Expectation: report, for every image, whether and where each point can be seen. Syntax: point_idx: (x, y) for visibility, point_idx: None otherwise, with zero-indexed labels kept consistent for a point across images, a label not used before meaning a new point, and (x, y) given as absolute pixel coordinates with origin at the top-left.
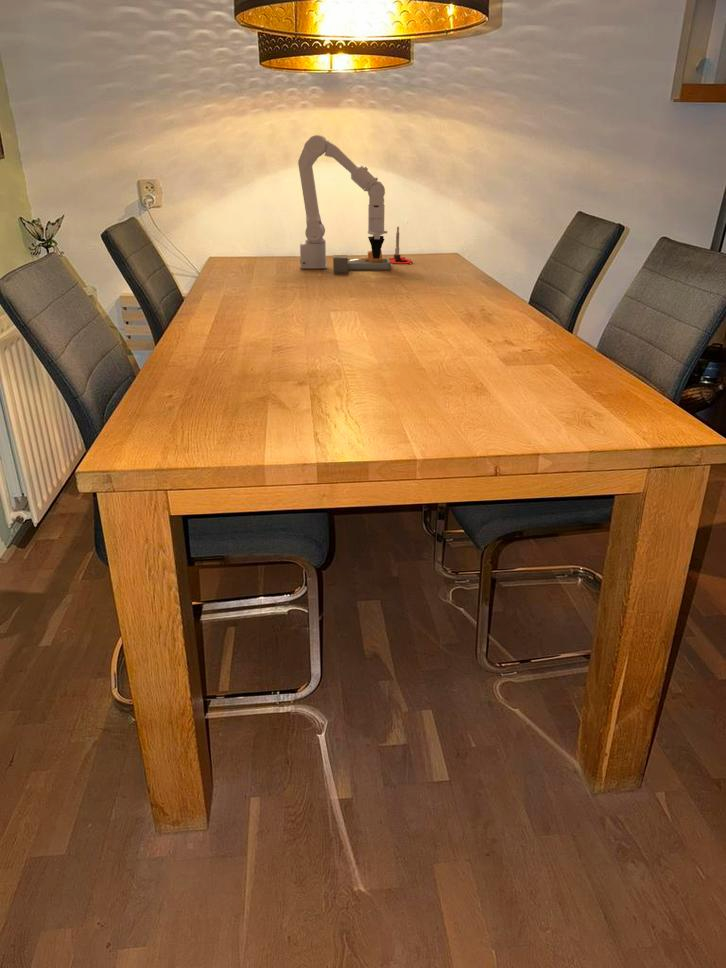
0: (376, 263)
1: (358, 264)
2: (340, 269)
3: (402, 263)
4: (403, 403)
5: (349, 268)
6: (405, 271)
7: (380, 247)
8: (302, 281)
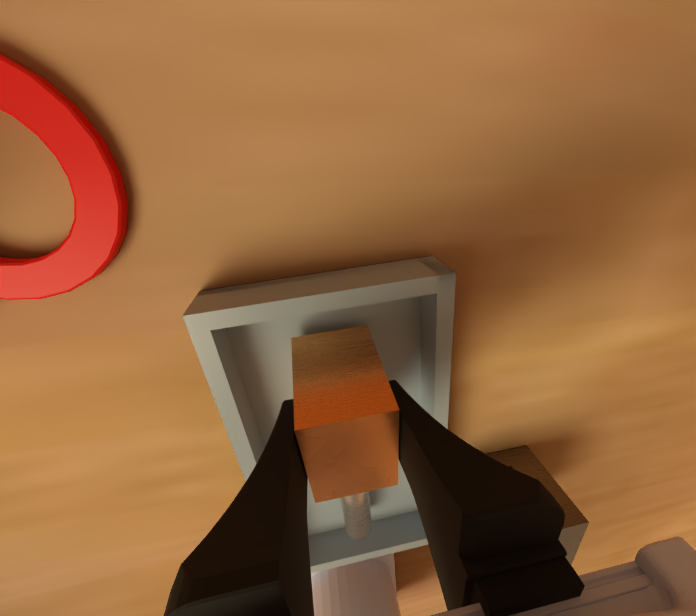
0: (448, 368)
1: None
2: None
3: (112, 166)
4: None
5: None
6: (491, 126)
7: (458, 443)
8: (635, 522)
